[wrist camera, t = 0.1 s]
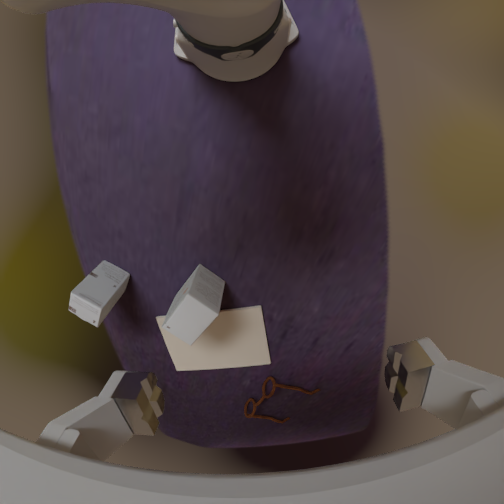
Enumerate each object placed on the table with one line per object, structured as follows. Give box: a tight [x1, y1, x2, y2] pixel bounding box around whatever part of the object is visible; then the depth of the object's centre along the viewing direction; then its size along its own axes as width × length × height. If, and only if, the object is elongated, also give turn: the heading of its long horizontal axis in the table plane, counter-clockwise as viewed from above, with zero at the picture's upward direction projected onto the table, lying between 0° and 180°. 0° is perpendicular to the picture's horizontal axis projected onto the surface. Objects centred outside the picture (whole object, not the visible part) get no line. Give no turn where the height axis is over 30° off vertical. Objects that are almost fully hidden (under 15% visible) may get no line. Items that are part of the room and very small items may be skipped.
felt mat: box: [156, 305, 271, 371], centre depth 56 cm, size 14×20×1 cm
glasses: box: [244, 377, 320, 423], centre depth 61 cm, size 13×13×5 cm
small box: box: [162, 264, 225, 346], centre depth 47 cm, size 8×6×10 cm
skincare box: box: [69, 261, 130, 327], centre depth 46 cm, size 6×4×12 cm
